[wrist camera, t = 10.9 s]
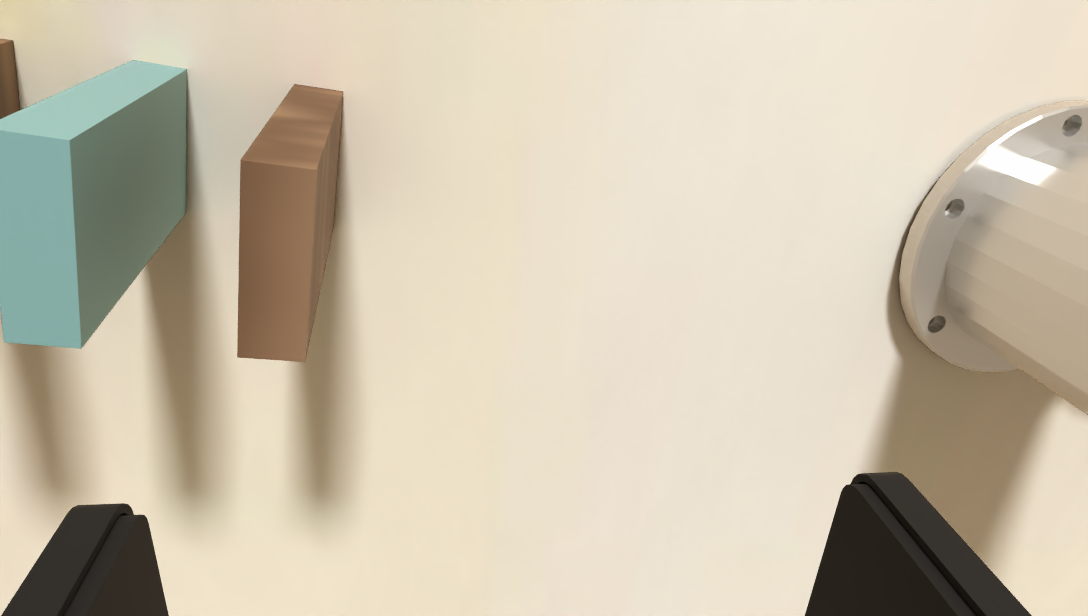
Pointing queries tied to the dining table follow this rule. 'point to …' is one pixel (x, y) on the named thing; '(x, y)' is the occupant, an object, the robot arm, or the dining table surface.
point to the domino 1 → (88, 198)
